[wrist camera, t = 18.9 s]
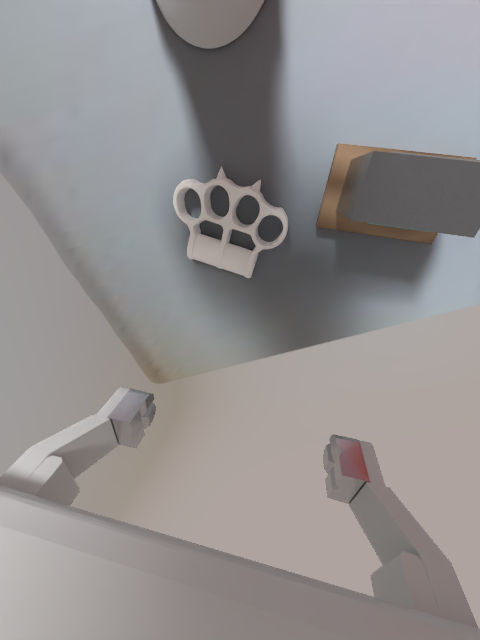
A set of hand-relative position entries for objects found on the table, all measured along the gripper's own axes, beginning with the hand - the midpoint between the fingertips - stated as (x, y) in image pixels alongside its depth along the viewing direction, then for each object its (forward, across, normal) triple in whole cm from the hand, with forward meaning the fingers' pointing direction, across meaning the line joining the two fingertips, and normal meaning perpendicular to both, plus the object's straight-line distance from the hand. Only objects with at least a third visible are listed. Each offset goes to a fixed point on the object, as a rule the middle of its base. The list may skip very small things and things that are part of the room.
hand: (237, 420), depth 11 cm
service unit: (+32, -13, -9) cm, 35 cm away
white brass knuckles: (+34, +8, -3) cm, 35 cm away
